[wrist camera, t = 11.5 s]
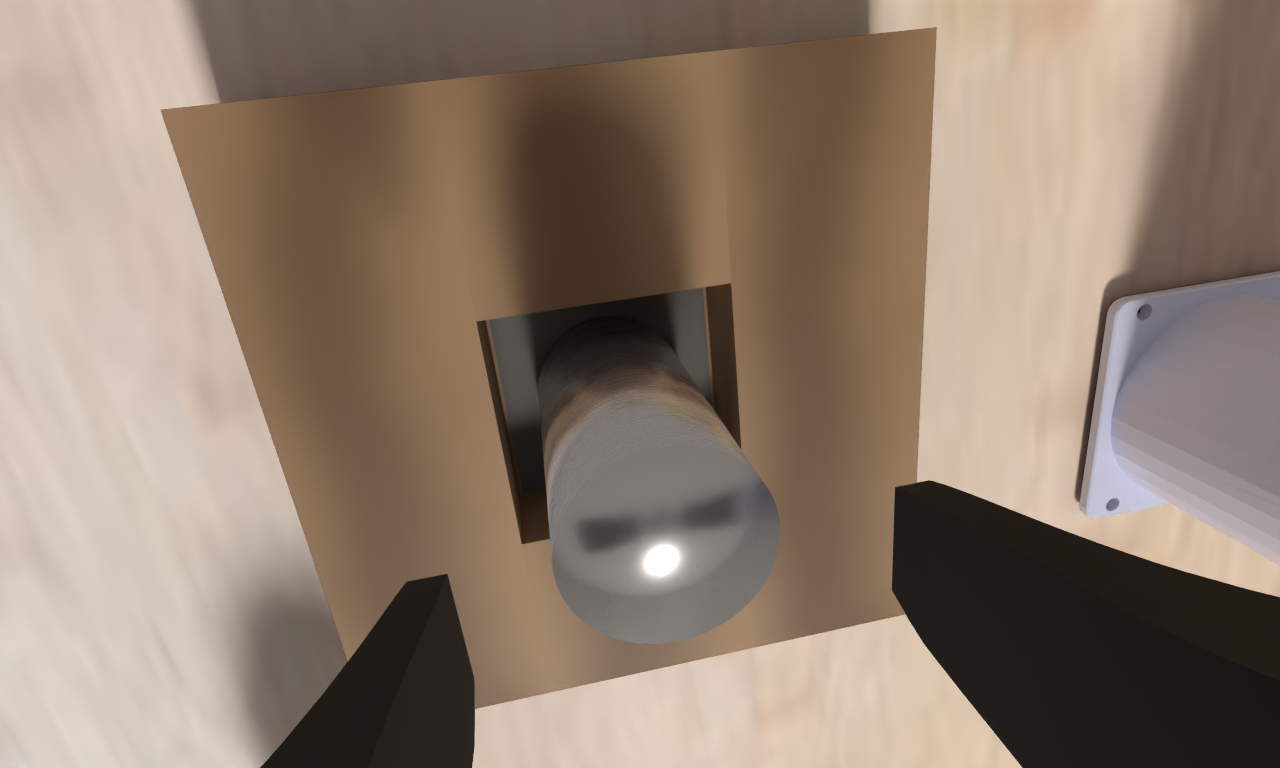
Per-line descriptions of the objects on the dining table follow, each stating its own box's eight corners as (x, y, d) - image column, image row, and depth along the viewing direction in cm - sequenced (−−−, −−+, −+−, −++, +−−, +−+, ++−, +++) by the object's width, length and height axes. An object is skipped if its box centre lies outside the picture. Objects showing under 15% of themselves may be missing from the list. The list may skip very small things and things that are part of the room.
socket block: (870, 43, 18) (936, 27, 15) (863, 556, 23) (911, 613, 21) (222, 114, 16) (160, 109, 13) (389, 654, 22) (371, 731, 19)
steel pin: (672, 305, 18) (776, 425, 11) (685, 435, 20) (783, 618, 13) (525, 327, 18) (532, 469, 11) (550, 460, 20) (571, 664, 12)
